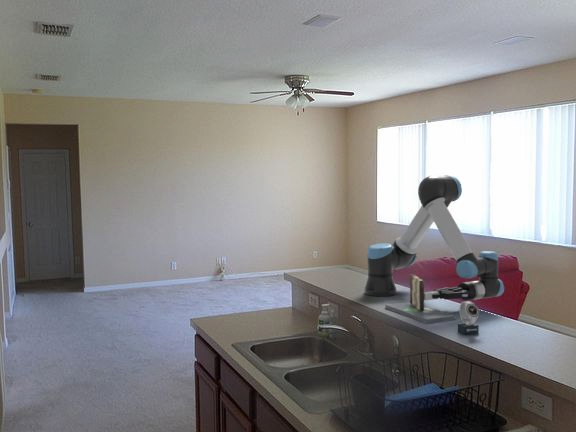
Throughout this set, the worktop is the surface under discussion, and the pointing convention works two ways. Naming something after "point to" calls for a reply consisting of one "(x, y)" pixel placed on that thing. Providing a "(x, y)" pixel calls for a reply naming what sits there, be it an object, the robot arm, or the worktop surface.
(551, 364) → the worktop surface
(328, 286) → the worktop surface
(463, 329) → the watch
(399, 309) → the grey rectangular base plate
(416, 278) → the beige upright panel
